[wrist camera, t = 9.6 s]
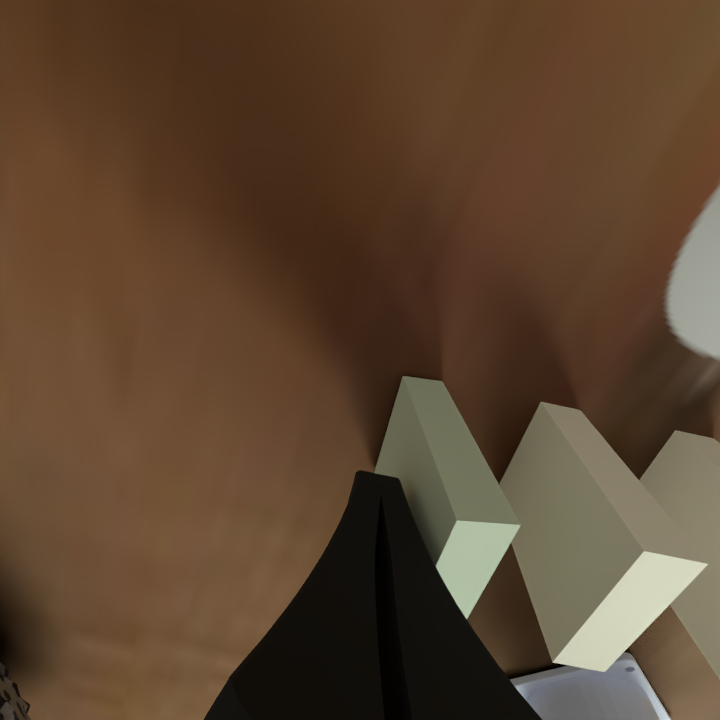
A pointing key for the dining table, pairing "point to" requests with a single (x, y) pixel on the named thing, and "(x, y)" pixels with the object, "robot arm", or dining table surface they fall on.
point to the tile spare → (447, 488)
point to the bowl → (11, 699)
